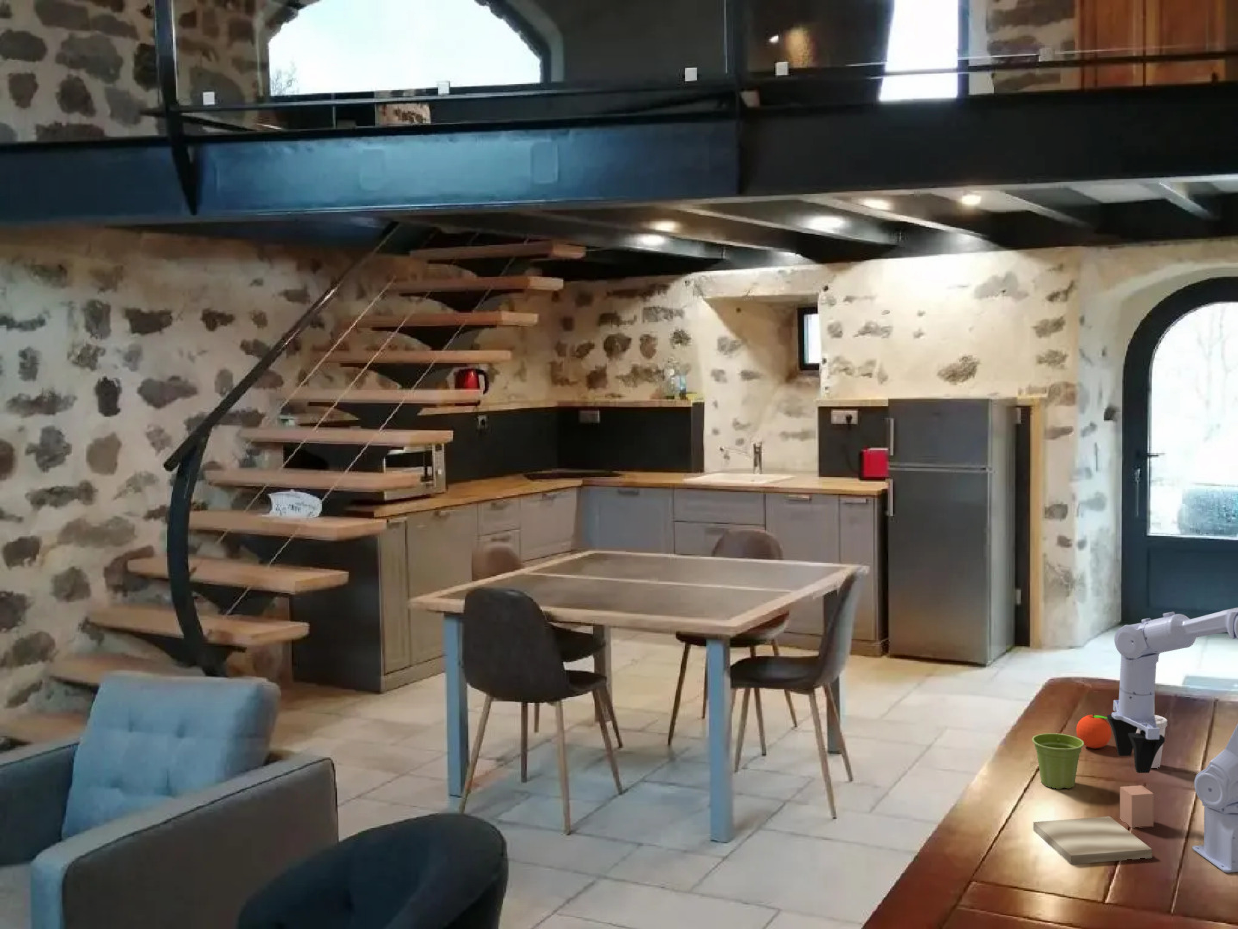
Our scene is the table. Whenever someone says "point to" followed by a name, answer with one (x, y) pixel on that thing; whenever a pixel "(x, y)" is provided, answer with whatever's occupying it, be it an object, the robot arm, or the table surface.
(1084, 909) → the table surface
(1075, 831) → the board
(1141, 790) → the block
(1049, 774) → the plant pot
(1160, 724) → the smoothie
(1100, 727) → the clementine
